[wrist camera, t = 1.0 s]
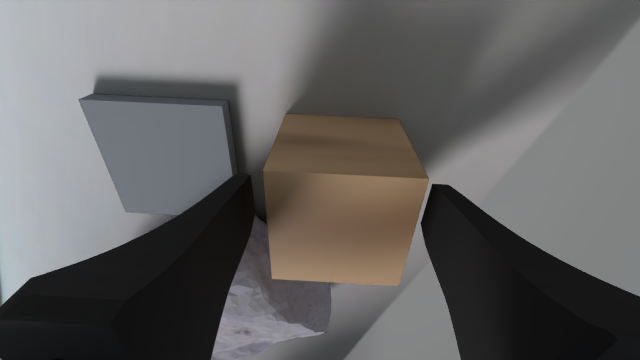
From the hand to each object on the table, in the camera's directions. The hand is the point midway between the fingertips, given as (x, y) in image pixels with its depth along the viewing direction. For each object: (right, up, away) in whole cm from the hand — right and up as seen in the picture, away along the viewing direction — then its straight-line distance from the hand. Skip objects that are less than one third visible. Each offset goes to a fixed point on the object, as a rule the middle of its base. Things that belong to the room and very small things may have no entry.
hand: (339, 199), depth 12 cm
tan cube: (0, +2, +3) cm, 3 cm away
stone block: (-6, -6, +7) cm, 11 cm away
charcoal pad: (-8, +2, +3) cm, 8 cm away
